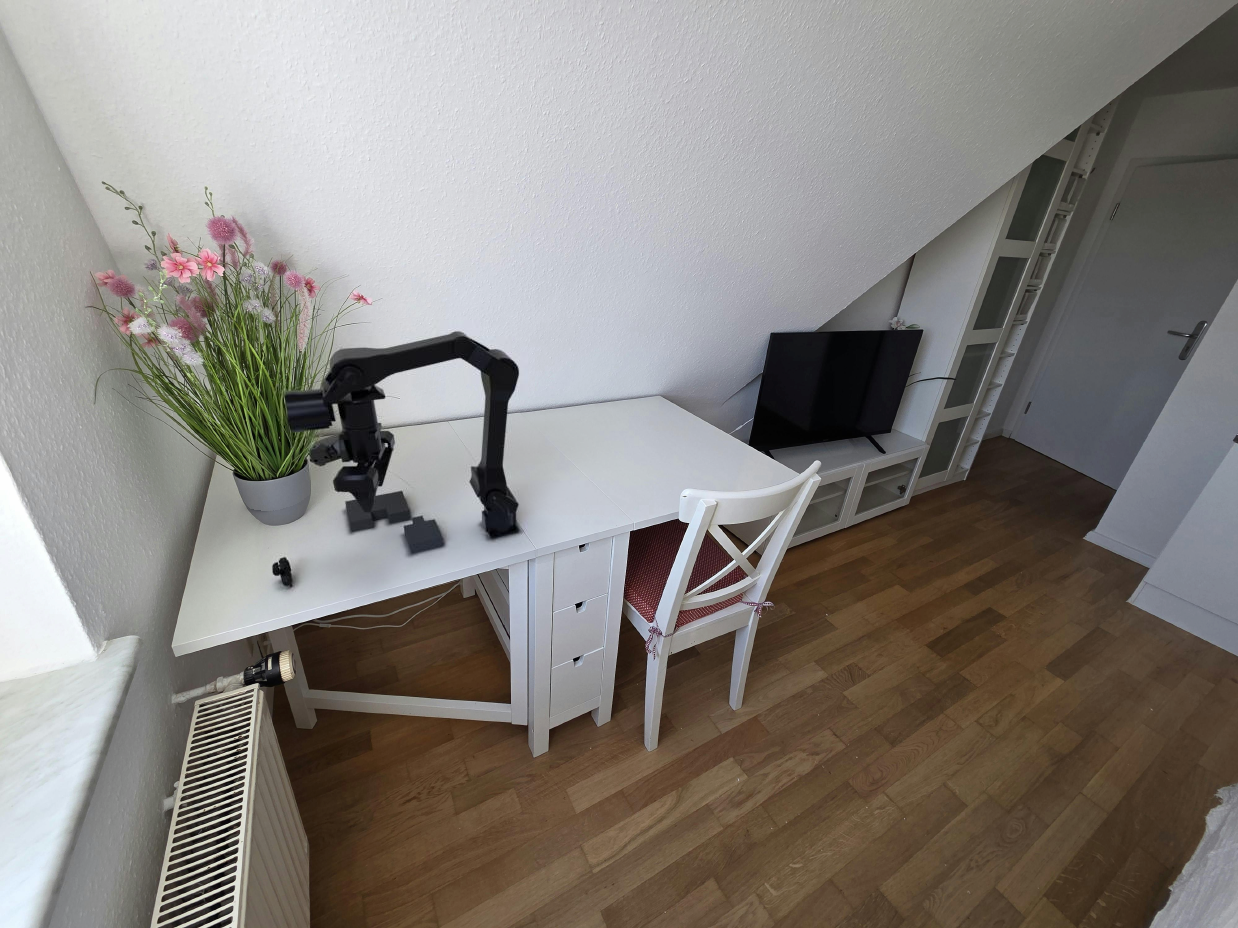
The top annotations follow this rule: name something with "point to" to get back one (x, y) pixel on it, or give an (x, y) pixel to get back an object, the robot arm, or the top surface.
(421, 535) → the tab pad
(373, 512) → the notch pad
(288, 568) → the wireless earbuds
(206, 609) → the top surface
